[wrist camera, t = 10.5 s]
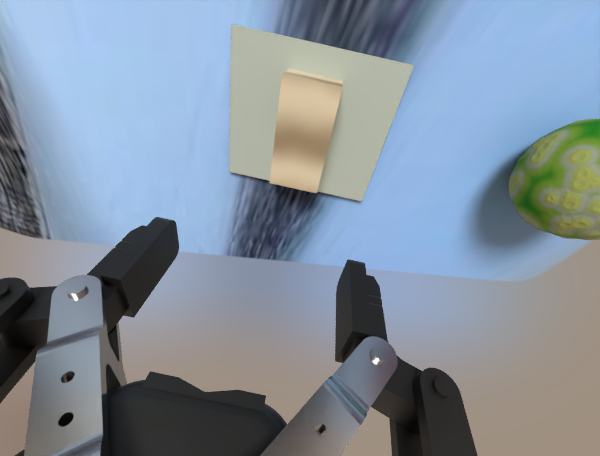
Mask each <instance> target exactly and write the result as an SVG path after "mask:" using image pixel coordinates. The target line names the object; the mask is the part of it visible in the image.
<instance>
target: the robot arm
mask: <svg viewBox="0 0 600 456" xmlns="http://www.w3.org/2000/svg"><path fill="white" fill-rule="evenodd" d="M178 250H179V242H178V234H177V227H176V222H175V221H173V220H169V219H164V218H160V217H156V218H154V219H153V220H152V221H151V222H150V223H149V224H148V226H140V227H138V228H136V229H134V230H132V231H131V232H129V233H128V234H127V235H126V236H125V237H124V238H123V239H122V242H121V241H120V242H119V243H118V244H117V245H116V246H115V248H114V249H112V250H111V251H110V252H109V253H108V254H107V255H106V256H105V257H104V258H103V259H102V260H101V261H100V262H99V263H98V264H97V265H96V266H95V267H94V268H93V269H92V270H91V271H90V272H89V273H88V274H87V275H81V276H76V277H73V278H70V279H68V280H66V281H64V282H62V283H61V284H60V285H58V286H54V287H36V288H29V287H28V286H27V284H26V283H25V281H23V280H21V279H19V278H3V279H0V403H1V402H2V401H3V399H4V398H5V397H6V396H7V394H8V393H9V392H10V391H11V389H12V388H13V387H14V386H15V385H16V383H17V382H18V381H19V380H20V379H21V378H22V376H23V375H24V374H25V373H26V372H27V370H28V369H29V368H30V367H31V366H32V364H33V363H34V362H35V369H34V378H33V385H32V393H31V402H30V410H29V418H28V427H27V434H26V442H25V449H24V450H23V451H21V452H20V453H18V454H17V455H15V456H340V455H341V454H342V452H343V451H344V449H345V448H346V446H347V445H348V443H349V442H350V440H351V439H352V437H353V436H354V434H355V433H356V431H357V430H358V428H359V426H360V425H361V424H362V422H363V420H364V419H365V417H366V415H367V412H368V410H369V408H370V407H373V408H374V409H376V410H377V411H379V412H381V413H382V414H384V415H385V416H387V417H389V418H390V432H391V445H392V456H477V452H476V449H475V445H474V441H473V438H472V434H471V430H470V427H469V423H468V420H467V416H466V412H465V409H464V405H463V401H462V397H461V394H460V391H459V389H458V387H457V385H456V383H455V382H454V381H453V380H452V379H451V377H449V376H448V375H447V374H446V373H445V372H443V371H441V370H439V369H436V368H427V369H425V370H424V371H421V370H419V369H417V368H415V367H414V366H412V365H410V364H408V363H406V362H405V361H403V360H401V359H400V358H399V357H398V356H397V355H396V353H395V351H394V349H393V348H392V346H391V345H390V344H389V343H388V340H387V334H386V328H385V321H384V314H383V308H382V300H381V293H380V288H379V285H378V283H377V282H376V280H375V278H374V277H373V276H368V275H366V268H365V263H362V262H358V261H353V260H347V262H346V265H345V267H344V270H343V272H342V274H341V277H340V279H339V282H338V285H337V292H336V347H335V348H336V350H335V352H336V353H335V361H337V362H342V363H343V364H342V365H341V366H340V368H339V369H338V370H337V371H336V372H335V373H334V374H333V375H332V376H331V377H329V378H328V379H327V380H326V381H325V382H324V383H323V384H322V385H321V387H320V388H319V389H318V390H317V391H316V392H315V393H314V395H313V396H312V397H311V398H310V399H309V400H308V401H307V403H306V404H305V405H304V406H303V407H302V408H301V409H300V411H299V412H298V413H297V414H296V415H295V416H294V417H293V419H292V420H291V421H290V422H289V423H288V424H287V423H286V422H285V421H284V420H283V418H282V417H281V416H280V415H279V414H278V413H277V412H276V411H275V410H274V409H272V408H271V407H270V406H268V405H266V404H265V398H266V396H265V395H260V394H255V393H250V392H246V391H241V390H230V391H217V392H204V391H202V390H200V389H198V388H196V387H195V386H193V385H191V384H189V383H187V382H186V381H184V380H182V379H180V378H178V377H174V376H169V375H164V374H159V373H155V372H150V373H149V374H148V376H147V378H146V380H141V381H136V382H132V383H129V384H127V381H126V377H125V373H124V370H123V364H122V354H121V343H120V332H119V324H118V322H119V320H120V319H121V317H122V316H123V315H124V316H130V317H135V315H136V314H137V312H138V311H139V309H140V308H141V306H142V305H143V304H144V302H145V301H146V299H147V298H148V296H149V295H150V294H151V292H152V291H153V289H154V288H155V286H156V285H157V284H158V282H159V281H160V279H161V278H162V277H163V275H164V274H165V272H166V271H167V269H168V268H169V266H170V265H171V264H172V262H173V261H174V259H175V258H176V256H177V254H178Z"/></svg>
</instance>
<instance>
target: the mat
mask: <svg viewBox="0 0 600 456" xmlns="http://www.w3.org/2000/svg"><path fill="white" fill-rule="evenodd" d="M413 67H414V65H411V64H406V63H402V62H398V61H393V60H389V59H385V58H380V57H376V56H371V55H367V54H363V53H358V52H354V51H349V50H345V49H341V48H336V47H332V46H327V45H323V44H319V43H314V42H310V41H305V40H301V39H297V38H292V37H288V36H283V35H279V34H275V33H270V32H266V31H261V30H257V29H253V28H248V27H244V26H239V25H235V24H231V75H230V142H229V172H233V173H237V174H242V175H246V176H251V177H255V178H260V179H264V180H269V181H270V174H271V166H272V157H273V148H274V139H275V130H276V122H277V113H278V104H279V95H280V87H281V78H282V74H283V73H284V72H286V71H287V70H288V69H292V70H297V71H302V72H306V73H311V74H315V75H320V76H324V77H329V78H334V79H338V80H343V88H342V92H341V96H340V101H339V105H338V109H337V113H336V117H335V121H334V125H333V129H332V133H331V137H330V141H329V146H328V150H327V154H326V158H325V162H324V166H323V170H322V174H321V178H320V182H319V187H318V192H322V193H327V194H331V195H336V196H340V197H345V198H349V199H354V200H358V201H362V200H363V197H364V195H365V192H366V190H367V187H368V184H369V182H370V179H371V177H372V174H373V171H374V169H375V166H376V163H377V161H378V158H379V156H380V153H381V150H382V148H383V145H384V142H385V140H386V137H387V135H388V132H389V129H390V127H391V124H392V122H393V119H394V116H395V114H396V111H397V108H398V106H399V103H400V101H401V98H402V95H403V93H404V90H405V88H406V85H407V82H408V80H409V77H410V74H411V72H412V69H413Z"/></svg>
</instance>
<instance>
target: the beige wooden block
mask: <svg viewBox="0 0 600 456" xmlns="http://www.w3.org/2000/svg"><path fill="white" fill-rule="evenodd" d="M342 88H343V80H338V79H334V78H329V77H324V76H320V75H315V74H311V73H306V72H302V71H297V70H292V69H288V70H287V71H286V72H284V73H283V74H282V78H281V87H280V95H279V104H278V113H277V122H276V130H275V139H274V148H273V157H272V166H271V174H270V183H271V184H276V185H280V186H285V187H290V188H294V189H299V190H303V191H308V192H312V193H317V191H318V187H319V182H320V178H321V174H322V170H323V166H324V162H325V158H326V154H327V150H328V146H329V141H330V137H331V133H332V129H333V125H334V121H335V117H336V113H337V109H338V105H339V101H340V96H341V92H342Z"/></svg>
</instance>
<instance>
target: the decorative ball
mask: <svg viewBox="0 0 600 456" xmlns="http://www.w3.org/2000/svg"><path fill="white" fill-rule="evenodd" d="M509 195H510V197H511V199H512V201H513V203H514V205H515V207H516V210H517V212H518V213H519V214H520V215H521V216H522V218H523V219H524V220H525V221H527V222H528V223H530V224H531V225H532V226H534V227H535V228H537V229H539V230H542V231H545V232H548V233H552V234H554V235H557V236H560V237H563V238H572V239H583V240H597V239H600V119H589V120H580V121H576V122H574V123H571V124H569V125H566V126H564V127H562V128H559V129H557V130H555V131H553V132H551V133H549V134H547V135H545V136H543V137H541V138H540V139H538V140H537V141H536V142H535V143H534V144H533V145H531V146H530V147H529V148H528V149H527V150H526V151H525V152H524V154H523V155H522V156H521V157H520V158H519V160H518V162H517V163H516V166H515V168H514V170H513V172H512V174H511V176H510V179H509Z"/></svg>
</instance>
